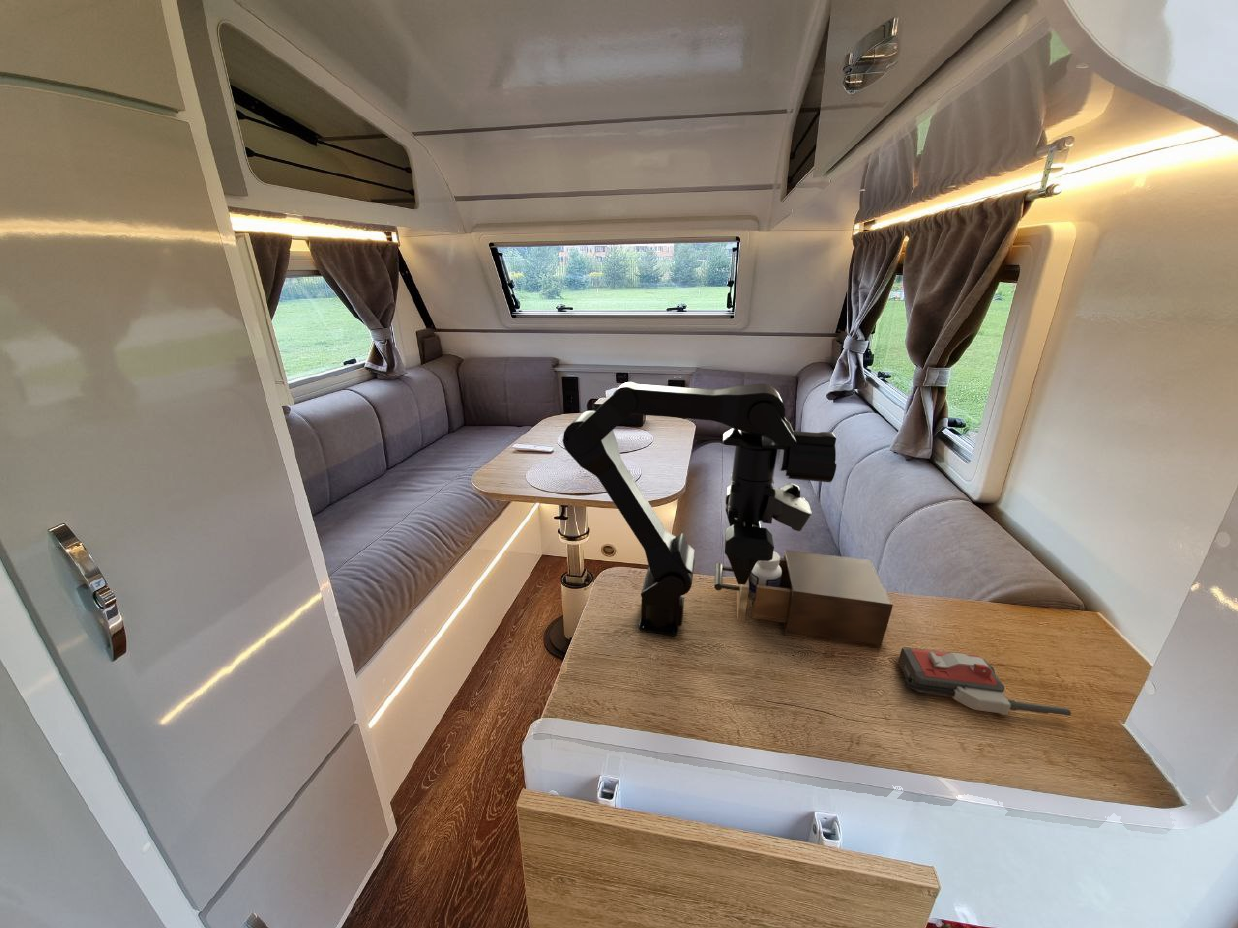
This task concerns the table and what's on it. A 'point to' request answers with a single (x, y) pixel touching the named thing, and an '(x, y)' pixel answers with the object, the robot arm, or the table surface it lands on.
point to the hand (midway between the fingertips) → (740, 566)
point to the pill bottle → (765, 575)
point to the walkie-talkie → (962, 681)
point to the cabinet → (836, 599)
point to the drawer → (760, 595)
